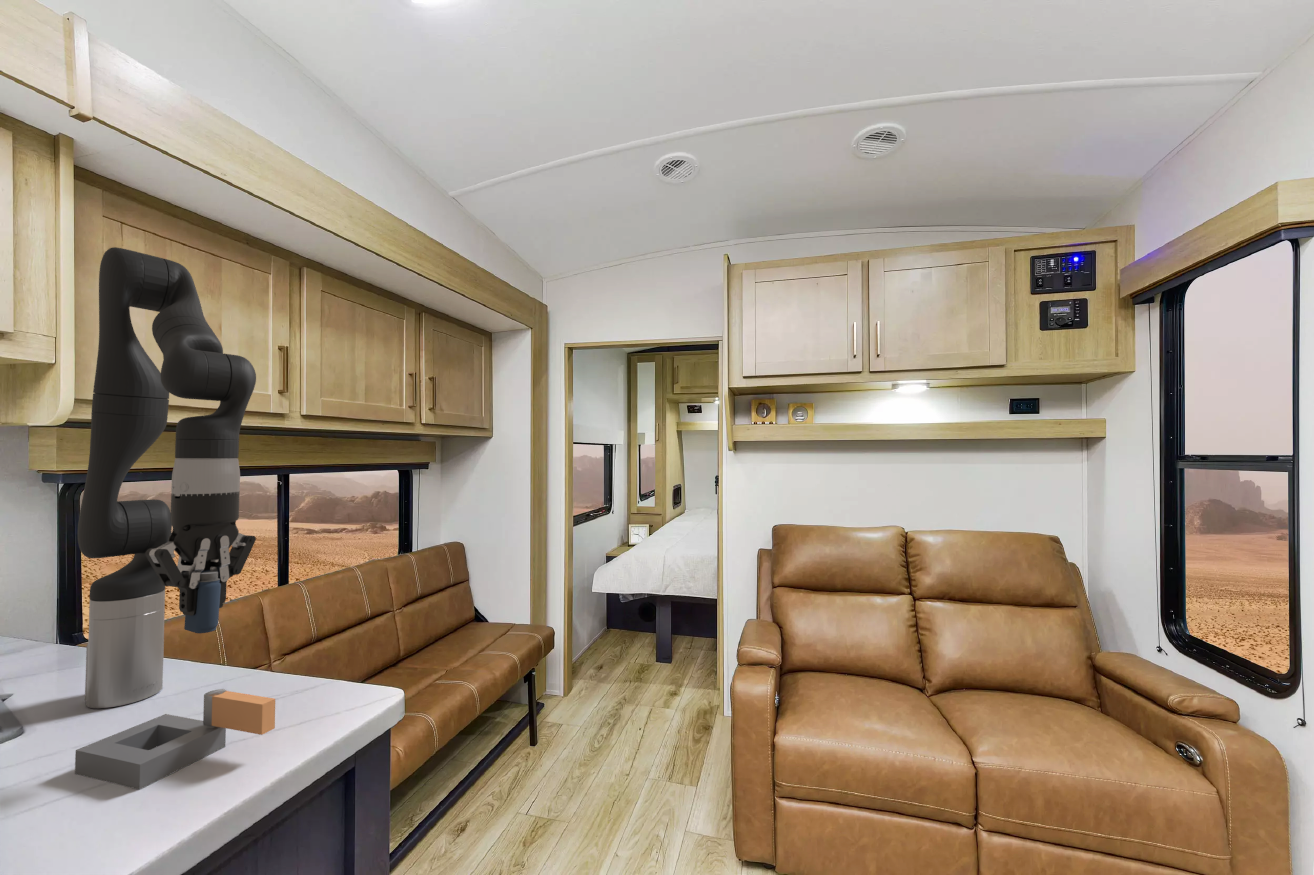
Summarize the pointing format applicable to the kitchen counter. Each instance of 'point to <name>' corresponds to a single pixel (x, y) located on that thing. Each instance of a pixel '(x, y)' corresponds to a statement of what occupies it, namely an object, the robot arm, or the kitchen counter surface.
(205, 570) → the vaping device
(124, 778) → the socket block
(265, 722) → the orange bar
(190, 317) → the robot arm
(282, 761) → the kitchen counter surface
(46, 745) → the kitchen counter surface
